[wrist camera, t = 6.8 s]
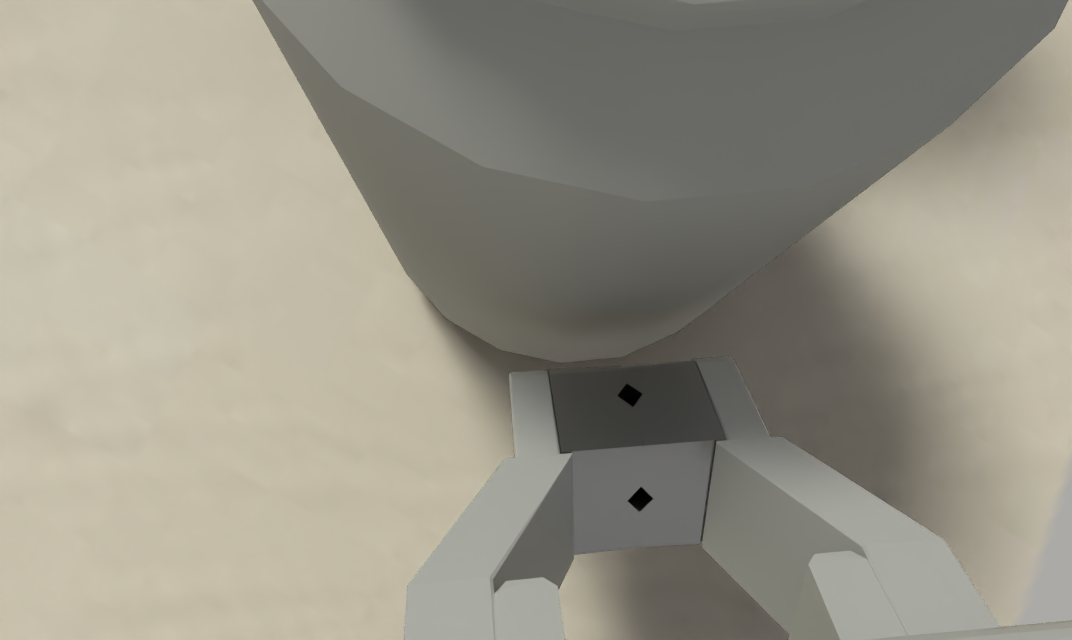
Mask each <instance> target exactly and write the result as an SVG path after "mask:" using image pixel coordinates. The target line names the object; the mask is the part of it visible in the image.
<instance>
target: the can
mask: <svg viewBox="0 0 1072 640" xmlns="http://www.w3.org/2000/svg"><path fill="white" fill-rule="evenodd" d="M253 2H254V4H255V5H256V7H257V9H258V11H259V12H260V14H261V16H262V18H263V20H264V21H265V23H266V25H267V27H268V28H269V30H270V32H271V34H272V36H273V37H274V39H275V41H276V43H277V44H278V46H279V48H280V50H281V52H282V53H283V55H284V57H285V59H286V61H287V62H288V64H289V66H290V68H291V69H292V71H293V73H294V75H295V77H296V78H297V80H298V82H299V84H300V85H301V87H302V89H303V91H304V93H305V94H306V96H307V98H308V100H309V101H310V103H311V105H312V107H313V109H314V110H315V112H316V114H317V116H318V117H319V119H320V121H321V123H322V125H323V126H324V128H325V130H326V132H327V133H328V135H329V137H330V139H331V141H332V142H333V144H334V146H335V148H336V149H337V151H338V153H339V155H340V157H341V158H342V160H343V162H344V164H345V166H346V167H347V169H348V171H349V173H350V174H351V176H352V178H353V180H354V182H355V183H356V185H357V187H358V189H359V190H360V192H361V194H362V196H363V198H364V199H365V201H366V203H367V205H368V206H369V208H370V210H371V212H372V214H373V215H374V217H375V219H376V221H377V222H378V224H379V226H380V228H381V230H382V231H383V233H384V235H385V237H386V238H387V240H388V242H389V244H390V246H391V247H392V249H393V251H394V253H395V255H396V256H397V258H398V260H399V262H400V263H401V265H402V267H403V269H404V271H405V272H406V274H407V275H408V276H409V277H410V279H411V280H412V281H413V282H414V283H415V284H416V285H417V286H418V287H419V289H420V290H421V291H422V292H423V293H424V294H425V295H426V296H427V298H428V299H429V300H430V301H431V302H432V303H433V304H434V305H435V306H436V308H437V309H438V310H439V311H440V312H441V313H442V314H443V315H444V317H445V318H446V319H448V320H449V321H451V322H453V323H454V324H456V325H458V326H460V327H461V328H463V329H465V330H467V331H468V332H470V333H472V334H473V335H475V336H477V337H479V338H480V339H482V340H484V341H486V342H487V343H489V344H491V345H493V346H494V347H496V348H498V349H499V350H503V351H508V352H512V353H517V354H522V355H526V356H531V357H536V358H540V359H545V360H550V361H554V362H559V363H565V362H575V361H585V360H595V359H605V358H614V357H623V356H625V355H627V354H630V353H632V352H634V351H636V350H639V349H641V348H643V347H645V346H648V345H650V344H652V343H654V342H657V341H659V340H661V339H663V338H666V337H668V336H670V335H672V334H675V333H677V332H679V331H680V330H681V329H683V328H684V327H685V326H686V325H688V324H689V323H690V322H692V321H693V320H694V319H696V318H697V317H698V316H700V315H701V314H702V313H704V312H705V311H706V310H708V309H709V308H710V307H711V306H713V305H714V304H715V303H717V302H718V301H719V300H721V299H722V298H723V297H725V296H726V295H727V294H729V293H730V292H731V291H733V290H734V289H735V288H736V287H738V286H739V285H740V284H742V283H743V282H744V281H746V280H747V279H748V278H750V277H751V276H752V275H754V274H755V273H756V272H758V271H759V270H760V269H761V268H763V267H764V266H765V265H767V264H768V263H769V262H771V261H772V260H773V259H775V258H776V257H777V256H779V255H780V254H781V253H783V252H784V251H785V250H786V249H788V248H789V247H790V246H792V245H793V244H794V243H796V242H797V241H798V240H800V239H801V238H802V237H804V236H805V235H806V234H808V233H809V232H810V231H811V230H813V229H814V228H815V227H817V226H818V225H819V224H821V223H822V222H823V221H825V220H826V219H827V218H829V217H830V216H831V215H833V214H834V213H835V212H836V211H838V210H839V209H840V208H842V207H843V206H844V205H846V204H847V203H848V202H850V201H851V200H852V199H854V198H855V197H856V196H858V195H859V194H860V193H861V192H863V191H864V190H865V189H867V188H868V187H869V186H871V185H872V184H873V183H875V182H876V181H877V180H879V179H880V178H881V177H883V176H884V175H885V174H886V173H888V172H889V171H890V170H892V169H893V168H894V167H896V166H897V165H898V164H900V163H901V162H902V161H904V160H905V159H906V158H908V157H909V156H910V155H911V154H913V153H914V152H915V151H917V150H918V149H919V148H921V147H922V146H923V145H925V144H926V143H927V142H929V141H930V140H931V139H933V138H934V137H935V136H936V135H938V134H939V133H940V132H942V131H943V130H944V129H946V128H947V127H948V126H950V125H951V124H952V123H953V122H954V121H955V120H956V119H957V118H958V117H959V116H960V115H962V114H963V113H964V112H965V111H966V110H967V109H968V108H969V107H970V106H971V105H972V104H973V103H974V102H976V101H977V100H978V99H979V98H980V97H981V96H982V95H983V94H984V93H985V92H986V91H987V90H988V89H990V88H991V87H992V86H993V85H994V84H995V83H996V82H997V81H998V80H999V79H1000V78H1001V77H1002V76H1004V75H1005V74H1006V73H1007V72H1008V71H1009V70H1010V69H1011V68H1012V67H1013V66H1014V65H1015V64H1016V63H1018V62H1019V61H1020V60H1021V59H1022V58H1023V57H1024V56H1025V55H1026V54H1027V53H1028V52H1029V51H1030V50H1032V49H1033V48H1034V47H1035V46H1036V45H1037V44H1038V43H1039V42H1040V41H1041V40H1042V39H1043V38H1044V37H1046V36H1047V35H1048V34H1049V33H1050V32H1051V31H1052V30H1053V29H1054V28H1055V26H1056V24H1057V22H1058V20H1059V18H1060V16H1061V14H1062V12H1063V10H1064V8H1065V6H1066V4H1067V2H1068V0H253Z"/></svg>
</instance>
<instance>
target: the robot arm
mask: <svg viewBox="0 0 1072 640" xmlns="http://www.w3.org/2000/svg"><path fill="white" fill-rule="evenodd" d="M509 387H510V402H511V417H512V433H513V448H514V458H506V459H504V460H503V461H502V463H501V464H500V465H499V466H498V468H497V469H496V470H495V472H494V473H493V474H492V476H491V477H490V478H489V480H488V481H487V482H486V484H485V485H484V486H483V487H482V489H481V490H480V491H479V493H478V494H477V495H476V497H475V498H474V499H473V501H472V502H471V503H470V505H469V506H468V507H467V508H466V510H465V511H464V512H463V514H462V515H461V516H460V518H459V519H458V520H457V522H456V523H455V524H454V526H453V527H452V528H451V529H450V531H449V532H448V533H447V535H446V536H445V537H444V539H443V540H442V541H441V543H440V544H439V545H438V547H437V548H436V549H435V550H434V552H433V553H432V554H431V556H430V557H429V558H428V560H427V561H426V562H425V564H424V565H423V566H422V568H421V569H420V570H419V571H418V573H417V574H416V575H415V577H414V578H413V579H412V581H411V582H410V583H409V585H408V586H407V600H406V614H405V628H404V640H565V637H564V630H563V622H562V615H561V607H560V600H559V592H558V590H559V588H560V586H561V584H562V582H563V580H564V578H565V576H566V574H567V572H568V570H569V567H570V565H571V563H572V561H573V559H574V555H576V554H585V553H594V552H602V551H611V550H620V549H629V548H639V547H656V546H673V545H689V544H702V548H703V549H704V550H705V551H706V552H707V553H708V554H709V555H710V556H711V557H712V558H713V559H714V560H715V561H716V562H717V563H718V564H719V565H720V566H721V567H722V568H723V569H724V570H725V571H726V572H727V573H728V574H729V575H730V576H731V577H732V578H733V579H734V580H735V581H736V582H737V583H738V584H739V585H740V586H741V587H742V588H743V589H744V590H745V591H746V592H747V593H748V594H749V595H750V596H751V597H752V598H753V599H754V600H755V601H756V602H757V603H758V604H759V605H760V606H761V607H762V608H763V609H764V610H765V611H766V612H767V613H768V614H769V615H770V616H771V617H772V618H773V619H774V620H775V621H776V622H777V623H778V624H779V625H780V626H781V627H782V628H783V629H784V630H785V631H786V632H787V633H788V634H789V638H788V640H1072V620H1070V621H1059V622H1048V623H1038V624H1026V625H1016V626H1005V627H1000V626H999V625H998V623H997V622H996V620H995V619H994V617H993V615H992V614H991V612H990V611H989V609H988V607H987V606H986V604H985V603H984V601H983V600H982V598H981V596H980V595H979V593H978V592H977V590H976V589H975V587H974V585H973V584H972V582H971V581H970V579H969V577H968V576H967V574H966V573H965V571H964V570H963V568H962V566H961V565H960V563H959V562H958V560H957V558H956V557H955V555H954V554H953V552H952V551H951V549H950V547H949V546H948V544H947V543H946V541H945V540H944V539H942V538H941V537H939V536H938V535H936V534H934V533H933V532H931V531H930V530H928V529H927V528H925V527H923V526H922V525H920V524H919V523H917V522H916V521H914V520H912V519H911V518H909V517H908V516H906V515H905V514H903V513H901V512H900V511H898V510H897V509H895V508H894V507H892V506H890V505H889V504H887V503H886V502H884V501H883V500H881V499H879V498H878V497H876V496H875V495H873V494H872V493H870V492H868V491H867V490H865V489H864V488H862V487H861V486H859V485H857V484H856V483H854V482H853V481H851V480H850V479H848V478H846V477H845V476H843V475H842V474H840V473H839V472H837V471H835V470H834V469H832V468H831V467H829V466H828V465H826V464H825V463H823V462H821V461H820V460H818V459H817V458H815V457H814V456H812V455H810V454H809V453H807V452H806V451H804V450H803V449H801V448H799V447H798V446H796V445H795V444H793V443H792V442H790V441H788V440H787V439H785V438H784V437H782V436H779V437H771V436H770V434H769V432H768V430H767V428H766V426H765V424H764V422H763V420H762V417H761V415H760V413H759V411H758V409H757V407H756V405H755V403H754V401H753V399H752V397H751V395H750V392H749V390H748V388H747V386H746V384H745V382H744V380H743V378H742V376H741V374H740V372H739V369H738V367H737V365H736V363H735V361H734V359H732V358H731V357H729V356H720V357H710V358H700V359H692V361H677V362H664V363H652V364H640V365H627V366H606V367H587V368H568V369H549V370H548V371H547V372H546V370H538V371H522V372H510V375H509Z"/></svg>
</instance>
